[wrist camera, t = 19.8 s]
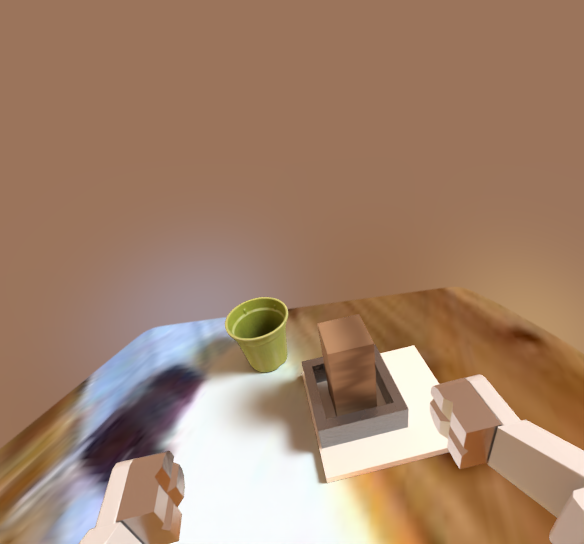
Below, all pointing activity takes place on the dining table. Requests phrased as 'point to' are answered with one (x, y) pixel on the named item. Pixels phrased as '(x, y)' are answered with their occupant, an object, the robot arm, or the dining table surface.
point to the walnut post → (349, 364)
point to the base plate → (396, 444)
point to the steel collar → (360, 421)
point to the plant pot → (260, 331)
